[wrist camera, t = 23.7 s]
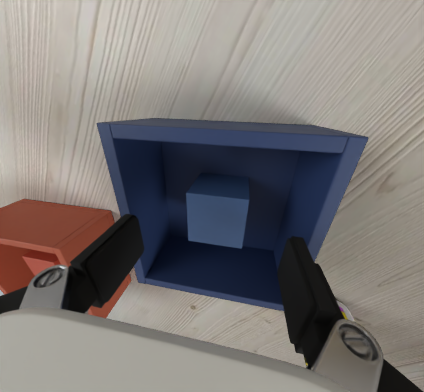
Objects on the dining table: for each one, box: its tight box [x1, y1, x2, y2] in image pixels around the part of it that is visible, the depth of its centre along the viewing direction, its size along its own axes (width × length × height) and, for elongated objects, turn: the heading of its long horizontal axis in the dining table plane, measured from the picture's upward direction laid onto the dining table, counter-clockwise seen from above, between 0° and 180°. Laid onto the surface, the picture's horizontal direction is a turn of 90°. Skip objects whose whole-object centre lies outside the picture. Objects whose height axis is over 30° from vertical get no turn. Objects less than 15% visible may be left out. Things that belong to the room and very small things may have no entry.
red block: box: [22, 250, 61, 276], centre depth 23 cm, size 4×4×4 cm
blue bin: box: [97, 118, 368, 311], centre depth 14 cm, size 14×14×7 cm
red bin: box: [0, 199, 131, 318], centre depth 23 cm, size 14×14×7 cm
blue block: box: [186, 173, 249, 249], centre depth 15 cm, size 4×4×4 cm
